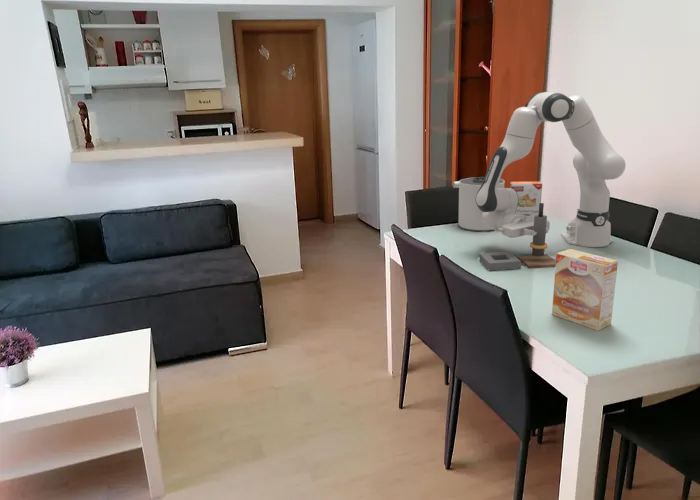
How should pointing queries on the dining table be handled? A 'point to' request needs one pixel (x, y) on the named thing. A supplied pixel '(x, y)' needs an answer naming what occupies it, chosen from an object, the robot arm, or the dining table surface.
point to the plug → (539, 233)
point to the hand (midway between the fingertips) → (541, 232)
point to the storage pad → (537, 261)
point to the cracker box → (528, 197)
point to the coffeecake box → (584, 288)
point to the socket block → (500, 261)
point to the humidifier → (471, 204)
